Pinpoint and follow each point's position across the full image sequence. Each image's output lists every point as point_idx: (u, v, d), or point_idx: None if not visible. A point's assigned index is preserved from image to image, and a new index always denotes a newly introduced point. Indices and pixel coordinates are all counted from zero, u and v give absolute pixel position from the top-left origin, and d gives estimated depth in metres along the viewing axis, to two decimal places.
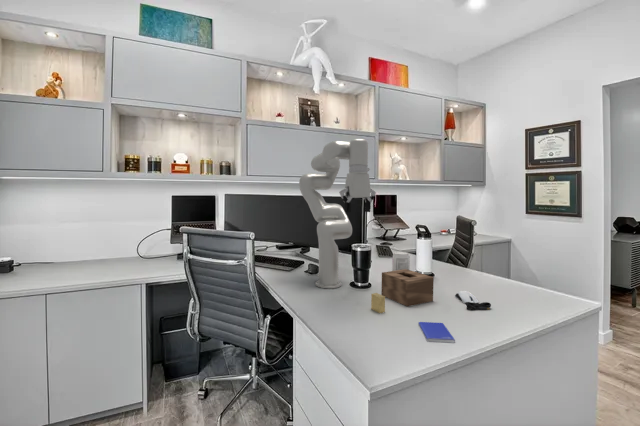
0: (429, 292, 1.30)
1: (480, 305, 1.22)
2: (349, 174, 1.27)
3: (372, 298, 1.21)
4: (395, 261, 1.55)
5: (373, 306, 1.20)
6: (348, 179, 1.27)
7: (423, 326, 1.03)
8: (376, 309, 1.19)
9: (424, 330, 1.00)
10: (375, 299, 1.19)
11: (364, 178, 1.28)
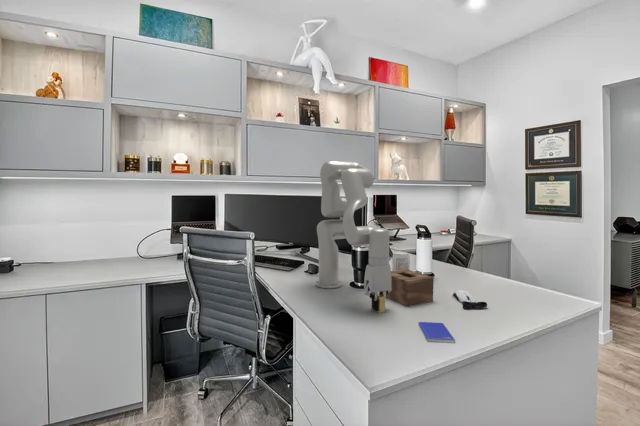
0: (429, 292, 1.30)
1: (476, 304, 1.22)
2: (369, 267, 1.17)
3: None
4: (395, 261, 1.55)
5: None
6: (368, 272, 1.17)
7: (423, 326, 1.03)
8: None
9: (424, 330, 1.00)
10: None
11: (386, 270, 1.18)
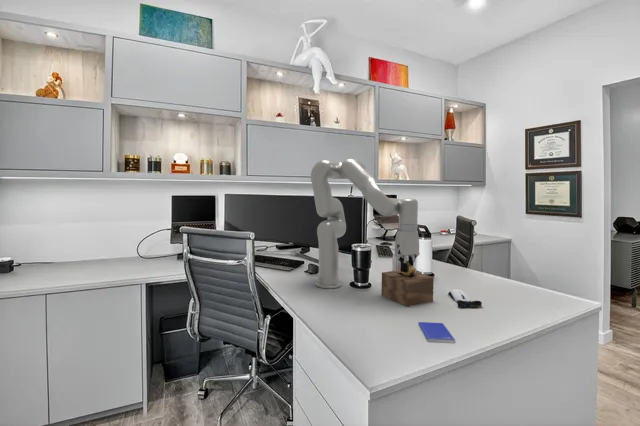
0: (429, 292, 1.30)
1: (471, 303, 1.24)
2: (400, 233, 1.31)
3: None
4: (395, 261, 1.55)
5: (406, 274, 1.33)
6: (399, 238, 1.31)
7: (423, 326, 1.03)
8: (408, 271, 1.31)
9: (424, 330, 1.00)
10: None
11: (414, 236, 1.32)
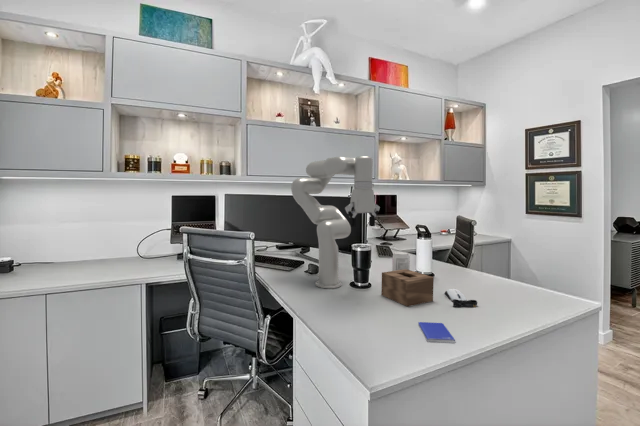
0: (429, 292, 1.30)
1: (466, 302, 1.25)
2: (354, 190, 1.31)
3: None
4: (395, 261, 1.55)
5: None
6: (353, 195, 1.31)
7: (423, 326, 1.03)
8: None
9: (424, 330, 1.00)
10: None
11: (369, 194, 1.32)
